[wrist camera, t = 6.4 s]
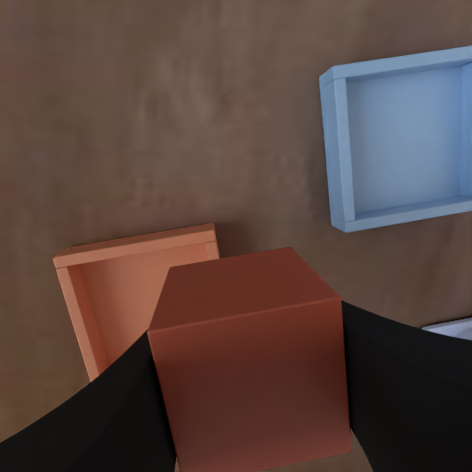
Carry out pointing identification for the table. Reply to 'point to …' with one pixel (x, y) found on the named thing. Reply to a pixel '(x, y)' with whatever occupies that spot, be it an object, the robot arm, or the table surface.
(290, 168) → the table surface
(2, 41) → the table surface
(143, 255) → the red tray
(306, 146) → the table surface
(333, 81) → the blue tray
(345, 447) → the red block
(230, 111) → the table surface
